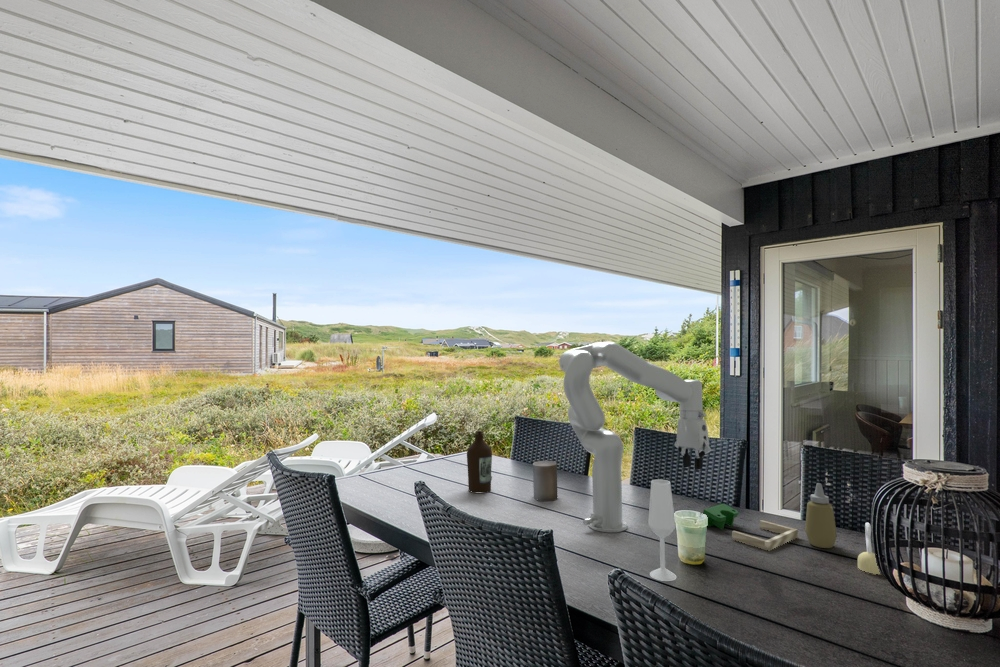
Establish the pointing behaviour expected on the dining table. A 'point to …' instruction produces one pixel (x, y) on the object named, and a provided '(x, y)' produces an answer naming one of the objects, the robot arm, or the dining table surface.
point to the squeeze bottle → (820, 520)
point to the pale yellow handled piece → (868, 555)
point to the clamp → (720, 515)
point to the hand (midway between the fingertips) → (692, 467)
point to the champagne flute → (661, 522)
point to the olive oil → (479, 464)
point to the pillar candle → (545, 480)
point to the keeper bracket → (784, 537)
